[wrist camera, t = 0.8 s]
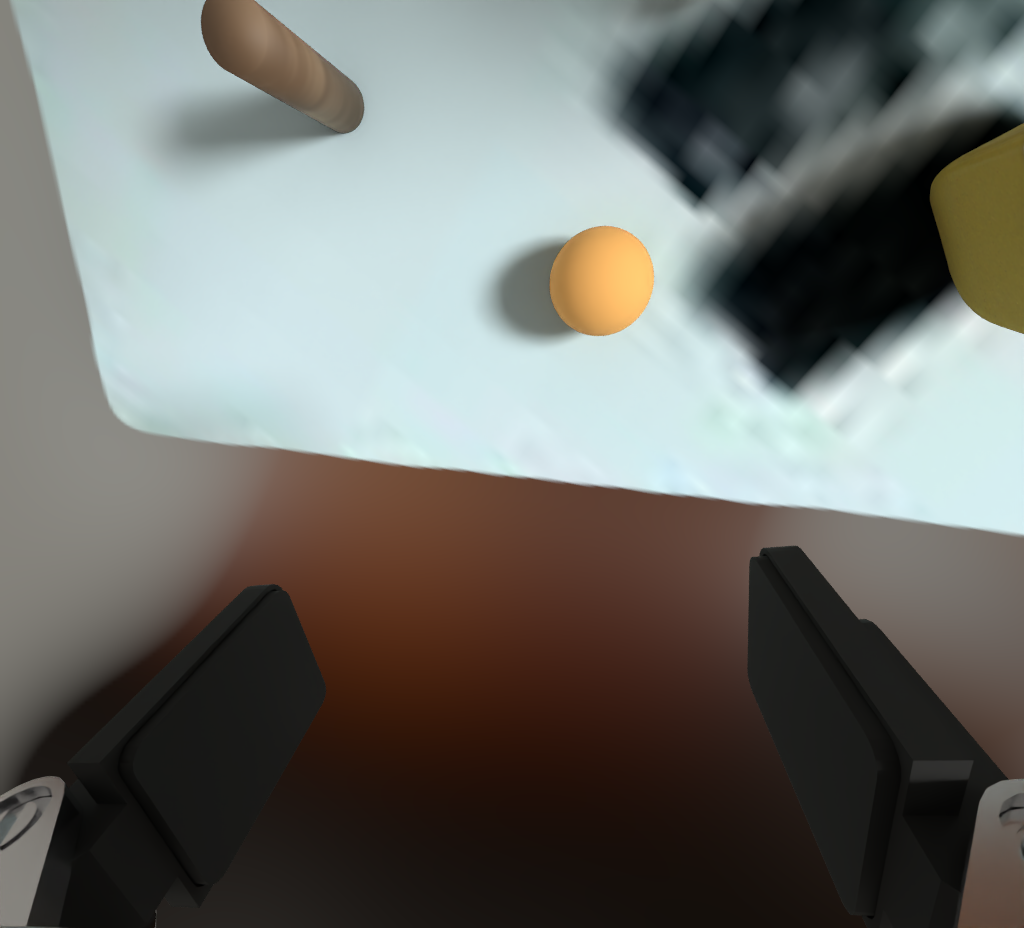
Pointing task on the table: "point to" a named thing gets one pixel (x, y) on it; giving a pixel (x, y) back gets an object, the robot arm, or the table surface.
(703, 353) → the table surface
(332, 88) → the post
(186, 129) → the table surface
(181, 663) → the robot arm
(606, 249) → the ball
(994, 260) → the flower pot
